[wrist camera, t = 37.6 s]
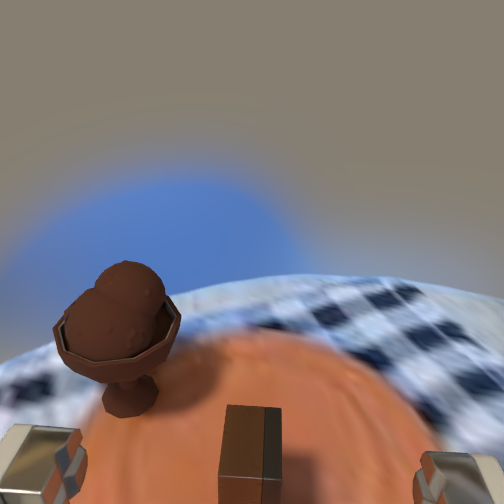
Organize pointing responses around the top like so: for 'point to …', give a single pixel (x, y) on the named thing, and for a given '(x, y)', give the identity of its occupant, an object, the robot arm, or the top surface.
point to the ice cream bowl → (120, 335)
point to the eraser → (251, 456)
